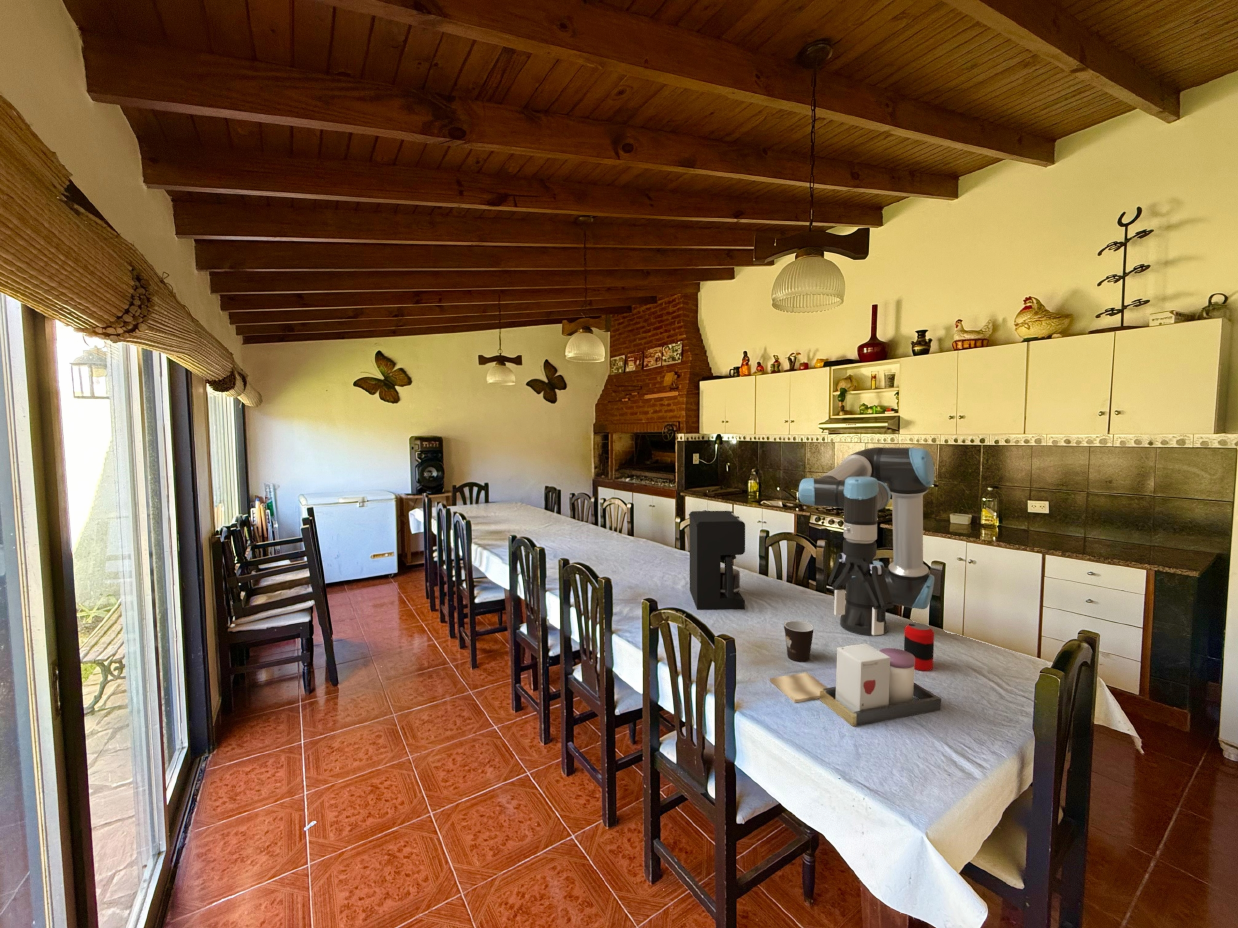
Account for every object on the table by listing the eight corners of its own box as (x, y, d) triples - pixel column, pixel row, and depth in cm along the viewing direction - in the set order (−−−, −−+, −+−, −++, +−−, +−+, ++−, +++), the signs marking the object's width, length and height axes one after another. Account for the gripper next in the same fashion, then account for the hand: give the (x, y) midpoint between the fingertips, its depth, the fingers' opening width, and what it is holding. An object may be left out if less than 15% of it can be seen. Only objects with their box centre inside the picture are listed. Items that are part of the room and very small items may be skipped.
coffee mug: (815, 664, 157) (815, 632, 157) (785, 662, 159) (785, 630, 158) (809, 648, 169) (809, 618, 168) (781, 646, 171) (781, 616, 170)
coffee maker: (749, 613, 200) (749, 522, 198) (697, 613, 201) (697, 522, 198) (733, 589, 228) (734, 510, 226) (688, 590, 229) (688, 510, 226)
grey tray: (902, 685, 144) (902, 675, 144) (940, 709, 132) (941, 698, 132) (819, 700, 138) (820, 689, 137) (852, 726, 126) (853, 714, 125)
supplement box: (859, 721, 128) (860, 661, 126) (834, 702, 136) (835, 646, 135) (889, 715, 130) (891, 656, 129) (863, 697, 139) (865, 642, 138)
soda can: (903, 657, 161) (904, 619, 160) (931, 662, 158) (933, 623, 157) (904, 668, 155) (905, 628, 154) (934, 673, 151) (935, 632, 150)
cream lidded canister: (896, 691, 141) (897, 646, 140) (921, 707, 133) (922, 659, 132) (870, 696, 139) (871, 650, 138) (894, 712, 131) (895, 663, 130)
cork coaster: (807, 675, 151) (807, 672, 151) (834, 695, 140) (834, 692, 140) (769, 680, 148) (769, 678, 148) (794, 702, 136) (794, 699, 136)
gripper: (815, 530, 141) (813, 608, 142) (884, 552, 117) (882, 645, 118) (839, 529, 143) (837, 605, 144) (912, 550, 119) (909, 641, 120)
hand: (857, 623), depth 131 cm, fingers open, 13 cm apart
